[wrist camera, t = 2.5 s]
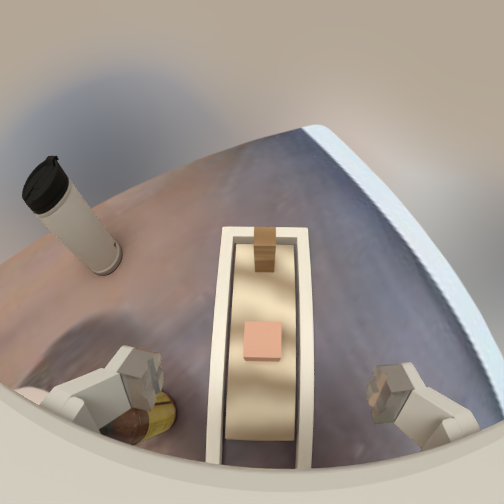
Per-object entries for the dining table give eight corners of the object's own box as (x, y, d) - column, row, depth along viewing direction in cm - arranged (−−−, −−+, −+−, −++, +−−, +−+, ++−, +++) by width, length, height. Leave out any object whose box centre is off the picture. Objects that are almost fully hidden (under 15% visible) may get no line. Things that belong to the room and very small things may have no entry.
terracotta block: (279, 361, 31) (281, 357, 27) (245, 360, 31) (243, 356, 28) (279, 329, 33) (281, 321, 29) (246, 329, 33) (244, 321, 30)
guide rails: (305, 497, 23) (308, 502, 21) (207, 494, 24) (204, 499, 22) (305, 235, 41) (307, 227, 39) (224, 234, 42) (222, 226, 40)
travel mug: (129, 244, 41) (67, 154, 24) (112, 280, 38) (34, 200, 21) (102, 237, 42) (40, 154, 25) (85, 270, 39) (10, 195, 22)
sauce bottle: (128, 396, 30) (19, 382, 13) (166, 380, 31) (71, 359, 14) (148, 440, 27) (47, 465, 10) (188, 425, 28) (107, 453, 11)
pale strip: (292, 438, 27) (302, 452, 20) (226, 437, 27) (215, 450, 20) (292, 249, 40) (298, 215, 32) (237, 248, 40) (231, 214, 33)
